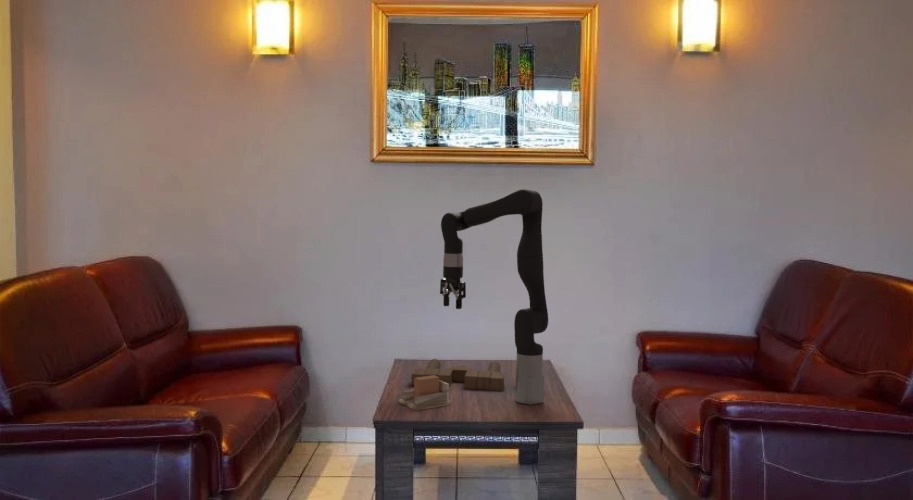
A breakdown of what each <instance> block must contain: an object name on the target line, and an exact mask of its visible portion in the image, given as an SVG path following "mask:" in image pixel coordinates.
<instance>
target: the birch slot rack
mask: <svg viewBox="0 0 913 500" xmlns="http://www.w3.org/2000/svg"><path fill="white" fill-rule="evenodd" d="M449 397H450V387H449V384H448V383H446V382H443V381H441V380H439V393H433V394H426V395H420V396H414V389H410V390H403V391H402V398H399V399H398V402H399V403H400V404H403V406H406V407H408V408H410V409H412V410H413V411H421V410H427V409H434V408H439V407H445V406H451V404H452V401H450V398H449Z"/></svg>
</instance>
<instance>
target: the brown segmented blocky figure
mask: <svg viewBox="0 0 913 500" xmlns="http://www.w3.org/2000/svg"><path fill="white" fill-rule="evenodd" d="M441 365H442V364H441V361H440V360H439V359H436V358H432V359H431V360H430V361H429V363H428V364H427V365H426V367H425V368H417V369H414V371H412V373H411V376H410V377H411V379H410V380H411V381H410V384H411V385H414V378H417V377H424V376H431V375H435V376H437V377H439V380H441V381H443V382H446V383H448V384H449V388H450V387H451V385H452V383H453V382H455V381H456V382H459V383H460V382H461V383H463V387H464V389H469V390H487V391H488V390H491V391H504V388H505V387H504V386H505V373H503V372H502V373H501V364H500V363H499V362H497V361H492V362H490V363H489V365H488V368H487V370H477V369H473V368H470V367H467V366H463V365H459V366H452V367H448V368H441Z"/></svg>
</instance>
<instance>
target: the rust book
mask: <svg viewBox="0 0 913 500" xmlns="http://www.w3.org/2000/svg"><path fill="white" fill-rule="evenodd" d="M413 390H414V396H420V395H426V394H433V393H439V377H437V376H435V375H431V376H424V377H417V378H414V386H413Z"/></svg>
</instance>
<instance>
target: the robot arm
mask: <svg viewBox="0 0 913 500" xmlns="http://www.w3.org/2000/svg"><path fill="white" fill-rule="evenodd" d="M543 205H544V204H543V199H542V196H541V194H540V193H539V192H538V191H537V190H535V189H527V188H521V189H518V190H516V191H514V192H512V193H510V194H508V195H506V196H503V197H501V198H499V199H496V200H494V201H490V202H486V203H482V204H479V205H475V206H471V207H469V208H467V209H465V210H464V211H460V212H447V213H445V214H443V216H442V218H441V221H440V228H441V232H442V233H441V234H442V238H443V241H444V244H443V245H444V246H443V248H444V249H443V251H444V252H443V259H442V260H443V261H442V265H443V266H442V268H443V270H442V277H443V278H440V281H439V282H440V284H439V285H440V286H439V294H440V295H442V297H443V306H444V307H449V306H450V295H451V293H453V294H452V295H454V297H455V309H456V310H461V309H462V308H463V299H466V298H467V295H466V294H467V292H466V291H467V290H466V289H467V288H466V287H467V286H466V285H467V283H466V281H461V279H462V278H463V277H464V256H463V247H464V244H463V243H464V242H463V239H462V238H461V237H459V236H458V232H461V231H465V230H467V229H470V228H473V227H476V226H480V225H484V224H487V223H490V222H492V221H495V220H496V219H498V218H501V217H505V216H511V215H512V216H513V215H520V216H521V217H522V218H521V219H522V232H521V236H520V239H519V242H518V247H517V250H516V251H517V252H516V265H517V272H518V276H519V278H520V280H521V282H522V283H523V285H524V286H525V288H526V291H527V293H528V298H529V308H528V307H527V308H526V307H525V308H522V309H519V310H517V312H516V313H515V316H514V323H513V325H514V327H513V328H514V344H515V347H516V360H515V361H516V364H515V365H516V367H515V370H516V372H515V401H516V402H517V403H520V404H523V405H529V406H531V405H532V406H533V405H537V404H538V405H539V404H542V403H544V394H545V393H544V390H545V389H544V388H545V377H544V375H543V362H544V361H543V360H544V358H543V357H544V356H543V354H544V347H543V345H542V344H540V343H538V342H536V341H535V335H536V334H537V335H538V334H541V333H544V332H545V331H546V330H547V328H548V326H549V313H548V306H547V305H548V304H547V298H546V292H545V291H546V289H545V275H544V254H543V252H544V251H543V235H542V231H543V230H542V226H543V225H542V221H543Z"/></svg>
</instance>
